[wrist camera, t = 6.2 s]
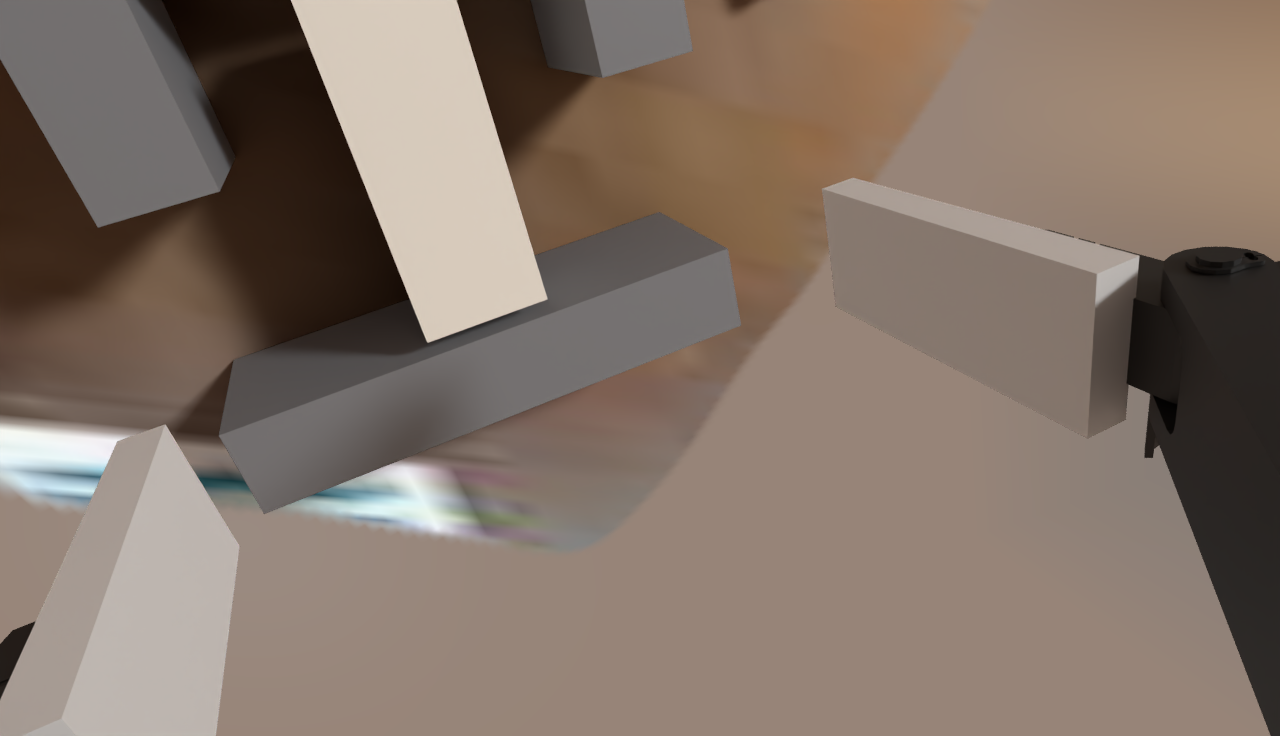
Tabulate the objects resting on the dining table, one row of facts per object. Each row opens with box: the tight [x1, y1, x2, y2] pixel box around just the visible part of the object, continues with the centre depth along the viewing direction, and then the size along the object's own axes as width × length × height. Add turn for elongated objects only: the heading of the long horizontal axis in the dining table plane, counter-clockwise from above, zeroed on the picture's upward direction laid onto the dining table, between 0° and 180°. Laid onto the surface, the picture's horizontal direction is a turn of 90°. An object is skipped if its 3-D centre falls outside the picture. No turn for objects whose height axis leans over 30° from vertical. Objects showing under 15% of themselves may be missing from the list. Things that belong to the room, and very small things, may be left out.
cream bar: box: [291, 0, 547, 343], centre depth 24 cm, size 10×4×3 cm, turn 14°
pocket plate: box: [0, 0, 741, 514], centre depth 25 cm, size 18×17×6 cm
